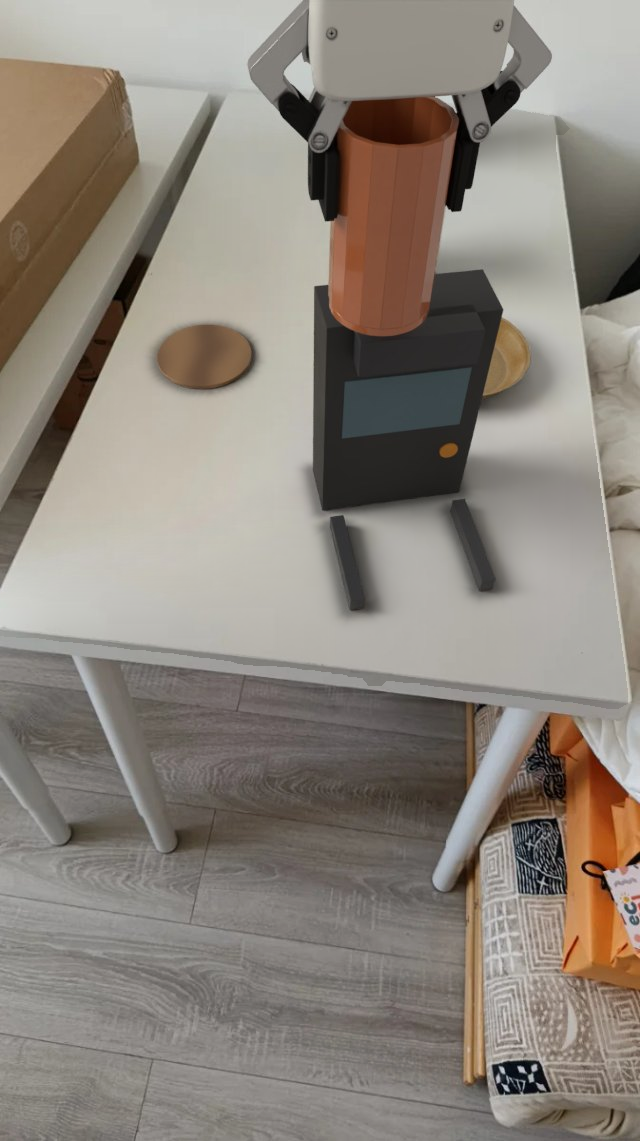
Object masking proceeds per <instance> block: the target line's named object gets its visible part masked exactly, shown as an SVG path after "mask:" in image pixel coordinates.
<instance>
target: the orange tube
mask: <svg viewBox="0 0 640 1141" xmlns="http://www.w3.org/2000/svg"><path fill="white" fill-rule="evenodd" d="M456 113H457V111H456V109H454V108H453V107H452V106H451V105H449V104H448V103H447V102H445V101H443V100H442V99H440V98H438V97H437V96H435V97H418V98H402V99H383V100H363V101H352V102H351V104H350V106H349V108H348V110H347V112H346V114H345V116H344V118H343V120H342V122H341V124H340V126H339V128H338V130H337V132H336V134H335V137H334V140H335V143H336V146H337V149H338V151H339V156H340V165H339V190H338V216H337V218H334V221H330V224H329V225H330V227H329V228H330V229H329V259H328V260H329V261H328V285H329V286H328V296H329V307H330V310H331V313H332V314H333V316H334V317H335V318H336V320H337V321H338V322H340V323H341V324H342V325H344V326H345V327H347V328H349V329H351V330H353V331H355V332H358V333H362V334H366V335H371V336H394V335H399V334H403V333H406V332H409V331H411V330H413V329H415V328H416V327H418V326H419V325H420V324H422V323H423V321H424V320H425V319H426V317H427V316H428V313H429V309H430V303H431V299H432V293H433V286H434V280H435V274H437V267H438V259H439V254H440V247H441V242H442V235H443V228H444V223H445V217H446V209H447V206H446V204H447V197H448V191H449V185H450V178H451V172H452V166H453V159H454V153H455V147H456V140H457V134H458V128H459V121H460V120H459V118H458V116H457V114H456Z"/></svg>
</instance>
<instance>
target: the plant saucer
mask: <svg viewBox="0 0 640 1141" xmlns="http://www.w3.org/2000/svg"><path fill="white" fill-rule="evenodd" d="M531 358H532V355H531V348H530V345H529V343H528V341H527V339H526V337H525V336H524V334H523V333H522V332H521V331H520V330H519V329H518V328H517V327H516V326H515V325H514V324H513V323H512V322H510V321H509V320H507V319H506V318H505V317H502V318H501V322H500V326H499V330H498V334H497V338H496V343H495V347H494V351H493V355H492V359H491V363H490V367H489V371H488V376H487V380H486V384H485V388H484V392H483V396H482V400H483V399H487V398H491V397H493V396H496V395H498V394H501V393H503V392H504V391H506V390H508V389H510V388H511V387H513V386H514V385H516V384H517V383H518V382H520V381H521V379H523V377H524V376H525V375H526V373H527V371H528V370H529V367H530V364H531Z"/></svg>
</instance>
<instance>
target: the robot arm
mask: <svg viewBox="0 0 640 1141" xmlns="http://www.w3.org/2000/svg"><path fill="white" fill-rule="evenodd" d="M508 45H510V47H511V48H512V50H513V54H512V57H511V58H510V60H509V61H508V62H507V63H506V67H504V69H503V70H502V68H503V65H504V62H505V58H506V54H507V48H508ZM300 55H301V57H302V61H303V62H304V63H308V65H310V66H311V79H312V85H313V89H312V91H311V93H310V96H309V98H308V99H307V98H306V97H305V95H304V94H303V93H302V92H301V91H300V90H299V89H298V88H297V87H296V86H295V85H294V84H292V83H291V81H289V80H288V78H287V77H286V75H285V71H286V70H287V68H288V67H289V66H290V65H291V64H292V63H293V62H294V61H295V60H296V59H297V57H298V56H300ZM552 59H553V53H552V51H551V50H550V49H549V47H548V46H547V44H545V42H544V41H543V39H541V37H540V36H539V35H538V32H536V31H535V29H534V28H533V27H532V26H531V24H530V23H529V22H528V21H527V20H526V18H525V17H524V16H523V14H522V13H521V12H520V11H519V10H518V8H517V7H516V6H515V0H300V3H299V4H298V5H297V6H296V7H295V8H294V9H293V10H292V11H291V13H290V14H288V16H286V18H285V19H284V20H283V21H282V22H281V23H280V25H278V26H277V27H276V29H275V30H273V31H272V33H271V34H270V35H269V36H268V37H267V38H266V39H265V40H264V41H263V42H262V43H261V45H259V47H257V49H256V50H255V51H254V52H253V53H252V54H251V55H250V57H249V58H248V60H247V64H246V66H247V71H248V73H249V74H248V75H249V78H250V80H251V82H252V84H254V86H255V87H256V88H257V89H258V90H259V91H260V92H261V93H262V95H263V96H264V97H265V98H266V99H267V100H268V102H269V103H270V104H271V105H272V106H274V107H275V109H276V110H277V111H278V112H279V115H280V117H281V118H282V119H283V120H284V121H285V122H286V123H287V124H288V125H289V126H290V127H291V128H292V129H293V130H294V131H295V132H297V134H299V135H300V137H301V138H302V139H303V140H304V141H306V143H307V191H308V196H309V199H310V201H318V203H319V206H320V210H321V213H322V216H323V220H324V222H331V221H334V218H337V216H338V190H339V165H340V156H339V151H338V149H337V146H336V143H335V140H334V137H335V134H336V132H337V130H338V128H339V126H340V124H341V122H342V120H343V118H344V116H345V114H346V112H347V110H348V108H349V106H350V104H351V102H352V101H363V100H383V99H402V98H418V97H434V96H435V97H447V96H451V99H452V101H453V105H454V108H455V112H456V114H457V116H458V118H459V120H460V121H459V128H458V134H457V140H456V147H455V153H454V159H453V166H452V172H451V178H450V185H449V191H448V197H447V204H446V209H447V210H448V211H450V212H451V213H457V212H462V210H463V204H464V199H465V194H466V190H471V189H472V187H473V185H474V179H475V174H476V167H477V163H478V162H477V161H478V156H479V151H480V145H481V143H483V142H484V141H485V140H487V139H488V138H489V137H490V135H491V132H492V127H494V125H495V124H496V123H497V122H498V121H499V120H500V119H501V118H502V117H503V116H505V114H507V112H509V111H510V110H511V109H512V108H513V107H514V106H515V105H516V104H517V102H518V101H519V100H520V97H521V94H522V92H524V90H527V89H528V88H529V87H530V86H531V85H532V84H533V82H535V80H537V78H538V77H539V76H540V75H542V73H543V72H544V71H545V70H546V69H547V68H548V66H549V65H550V64H551V62H552Z"/></svg>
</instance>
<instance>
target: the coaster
mask: <svg viewBox="0 0 640 1141" xmlns="http://www.w3.org/2000/svg"><path fill="white" fill-rule="evenodd" d="M252 357H253V354H252V348H251V344H250V343H249V341H248V340H247V338H246V337H245V336H244V335H242V334H241V333H240V332H238V331H236V330H234V329H232V328H230V327H227V326H223V325H218V324H198V325H192V326H188V327H184V328H182V329H179V330H177V331H176V332H175V331H174V332H173V333H172V334H170V335H169V336H168V337H167V338H166V339H164V340H163V342H162V343H161V345H160V346H159V348H158V351H157V354H156V359H157V360H156V361H157V366H158V369H159V370H160V372H161V374H162V375H163V376H164V377H165V378H166V379H168V380H169V381H170V382H172V383H174V384H175V385H178V386H181V387H184V388H189V389H195V390H206V389H214V388H218V387H222V386H225V385H228V384H231V383H232V382H234V381H236V380H238V379H239V378H241V377H242V376H243V375H244V374H245V373H246V372H247V370H248V369H249V368H250V365H251V363H252Z"/></svg>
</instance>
